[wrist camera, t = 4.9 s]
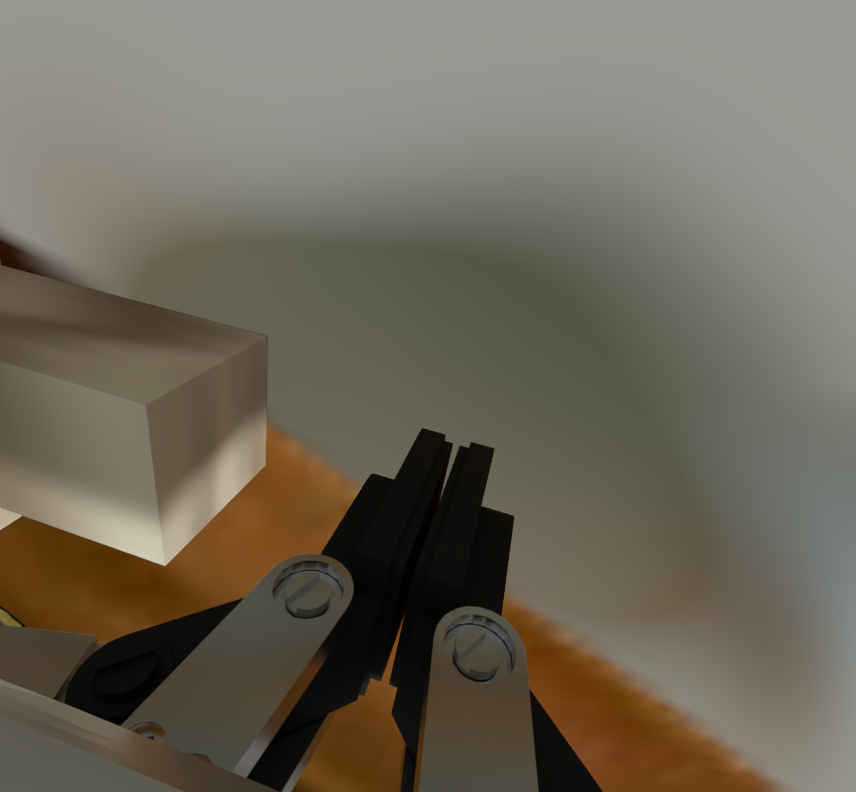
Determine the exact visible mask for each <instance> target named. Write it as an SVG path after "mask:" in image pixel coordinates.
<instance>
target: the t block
mask: <svg viewBox="0 0 856 792" xmlns="http://www.w3.org/2000/svg"><path fill="white" fill-rule="evenodd" d="M267 353H268V336H266V335H263V334H258V333H255V332H251V331H247V330H244V329H240V328H236V327H233V326H228V325H225V324H221V323H217V322H214V321H210V320H206V319H202V318H199V317H194V316H191V315H187V314H184V313H180V312H176V311H172V310H168V309H165V308H161V307H157V306H153V305H150V304H146V303H142V302H138V301H134V300H131V299H127V298H123V297H119V296H116V295H112V294H108V293H105V292H101V291H97V290H93V289H89V288H85V287H81V286H78V285H74V284H70V283H66V282H63V281H59V280H55V279H51V278H47V277H44V276H40V275H36V274H32V273H29V272H25V271H21V270H17V269H14V268H10V267H6V266H2V264H1V260H0V530H1V529H2V528H4V527H6V526H7V525H9V524H10V523H12V522H13V521H15V520H16V519H18V518H20V517H21V516H25V517H28V518H31V519H34V520H36V521H39V522H42V523H45V524H48V525H51V526H53V527H56V528H59V529H62V530H65V531H68V532H70V533H73V534H76V535H79V536H82V537H85V538H87V539H90V540H93V541H96V542H99V543H102V544H104V545H107V546H110V547H113V548H116V549H119V550H121V551H124V552H127V553H130V554H133V555H136V556H138V557H141V558H144V559H147V560H150V561H153V562H155V563H158V564H161V565H164V566H166V565H167V564H168V563H169V562H170V561H171V560H172V559H173V558H174V557H175V556H176V555H177V554H178V553H179V552H180V551H181V550H182V549H183V548H184V547H185V546H186V545H187V544H188V543H189V542H190V541H191V540H192V539H193V538H194V537H195V536H196V535H197V534H198V533H199V532H200V531H201V530H202V529H203V528H204V527H205V526H206V525H207V523H208V522H209V521H210V520H211V519H212V518H213V517H214V516H215V515H216V514H217V513H218V512H219V511H220V510H221V509H222V508H223V507H224V506H225V505H226V504H227V503H228V502H229V501H230V500H231V499H232V498H233V497H234V496H235V495H236V494H237V493H238V492H239V491H240V490H241V489H242V488H243V487H244V486H245V485H246V484H247V483H248V482H249V481H250V480H251V479H252V478H253V477H254V476H255V475H256V474H257V473H258V472H259V471H260V470H261V469H262V468H263V467H264V466H265V465H266V422H267V356H268V354H267Z"/></svg>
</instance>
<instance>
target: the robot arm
mask: <svg viewBox="0 0 856 792" xmlns="http://www.w3.org/2000/svg"><path fill="white" fill-rule="evenodd" d="M452 445H453V443H450V442H446V441H445V434H441V433H438V432H434V431H431V430H427V429H421V431H420V433H419V435H418V436H417V439H416V440H415V442H414V444H413V446H412V448H411V449H410V451H409V453H408V455H407V457H406V459H405V461H404V463H403V464H402V466H401V468H400V470H399V472H398V474H397V476H396V477H395V479H394V480H393V479H390V478H387V477H383V476H380V475H377V474H371V475H370V476H369V478H368V479H367V481H366V482H365V484H364V485H363V487H362V489H361V490H360V492H359V493H358V495H357V497H356V498H355V500H354V501H353V503H352V505H351V506H350V508H349V509H348V511H347V513H346V514H345V516H344V518H343V519H342V521H341V522H340V524H339V526H338V527H337V529H336V530H335V532H334V534H333V535H332V537H331V538H330V540H329V542H328V543H327V545H326V546H325V548H324V550H323V551H322V553H321V554H303V555H297V556H293V557H291V558H289V559H286V560H284V561H282V562H281V563H280V564H278V565H277V566H276V567H274V568H273V569H272V570H271V571H270V572H269V573H268V574H267V575H266V576H265V577H264V578H263V579H262V580H261V581H260V582H259V583H258V584H257V585H256V587H255V588H254V589H253V590H252V591H251V592H250V593H249V594H248V595H247V596H246V597H245V598H242V599H239V600H236V601H232V602H229V603H226V604H223V605H220V606H217V607H213V608H210V609H207V610H204V611H201V612H198V613H194V614H191V615H188V616H185V617H182V618H178V619H175V620H172V621H169V622H166V623H163V624H159V625H156V626H153V627H150V628H147V629H143V630H140V631H137V632H134V633H131V634H128V635H125V636H122V637H120V638H118V639H115V640H113V641H111V642H108V643H99V642H98V641H97V637H96V635H88V634H79V633H70V632H61V631H52V630H43V629H34V628H25V627H16V626H7V625H0V792H291V791H292V789H293V788H294V786H295V784H296V783H297V781H298V779H299V777H300V776H301V774H302V772H303V771H304V769H305V767H306V765H307V764H308V762H309V760H310V759H311V757H312V755H313V753H314V752H315V750H316V748H317V747H318V745H319V743H320V741H321V740H322V738H323V736H324V734H325V733H326V731H327V729H328V728H329V726H330V724H331V722H332V720H333V718H334V715H335V713H336V710H337V709H339V708H341V707H343V706H346V705H348V704H350V703H352V702H354V701H356V700H357V698H358V696H359V694H360V695H363V696H364V695H365V692H366V689H367V686H368V684H369V681H370V678H373V679H375V680H378V681H381V679H382V677H383V674H384V671H385V668H386V665H387V662H388V660H389V657H390V654H391V651H392V648H393V645H394V642H395V640H396V637H397V634H398V631H399V628H400V625H401V622H402V620H403V617H404V620H403V624H402V629H401V633H400V638H399V642H398V647H397V651H396V656H395V660H394V664H393V669H392V673H391V678H390V682H389V685H392V686H394V687H397V692H396V697H395V701H394V705H393V709H392V715H393V717H394V720H395V722H396V724H397V726H398V728H399V730H400V732H401V734H402V737H403V739H404V741H405V743H404V747H403V751H402V759H401V767H400V774H399V782H398V790H397V792H603V791H602V790H601V789H600V787H599V786H598V784H597V783H596V782H595V780H594V779H593V777H592V776H591V775H590V773H589V772H588V770H587V769H586V768H585V766H584V765H583V763H582V762H581V761H580V759H579V758H578V756H577V755H576V754H575V752H574V751H573V749H572V748H571V747H570V745H569V744H568V742H567V741H566V740H565V738H564V737H563V735H562V734H561V733H560V731H559V730H558V728H557V727H556V726H555V724H554V723H553V721H552V720H551V719H550V717H549V716H548V714H547V713H546V712H545V710H544V709H543V707H542V706H541V705H540V703H539V702H538V700H537V699H536V698H535V696H534V695H533V693H532V692H531V691H530V689H529V681H528V670H527V659H526V653H525V649H524V645H523V642H522V640H521V639H520V637H519V635H518V633H517V632H516V630H515V629H514V628H513V627H512V626H511V625H510V624H509V623H508V622H507V621H506V619H504V618H502V617H501V614H502V607H503V599H504V592H505V584H506V576H507V569H508V561H509V553H510V546H511V538H512V530H513V522H514V516H512V515H509V514H506V513H502V512H499V511H496V510H492V509H489V508H486V507H483V506H481V504H482V500H483V496H484V491H485V487H486V483H487V479H488V474H489V470H490V466H491V462H492V457H493V453H494V448H491V447H487V446H484V445H480V444H476V443H473V442H471V444H470V447H469V448H467V447H463V446H460V447H459V450H458V452H457V455H456V458H455V461H454V464H453V466H452V469H451V472H450V475H449V477H448V480H447V483H446V486H445V488H444V491H443V494H442V497H441V493H442V489H443V484H444V480H445V476H446V472H447V467H448V463H449V458H450V455H451V450H452ZM440 497H441V499H440ZM439 501H440V502H439ZM404 614H405V615H404Z"/></svg>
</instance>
